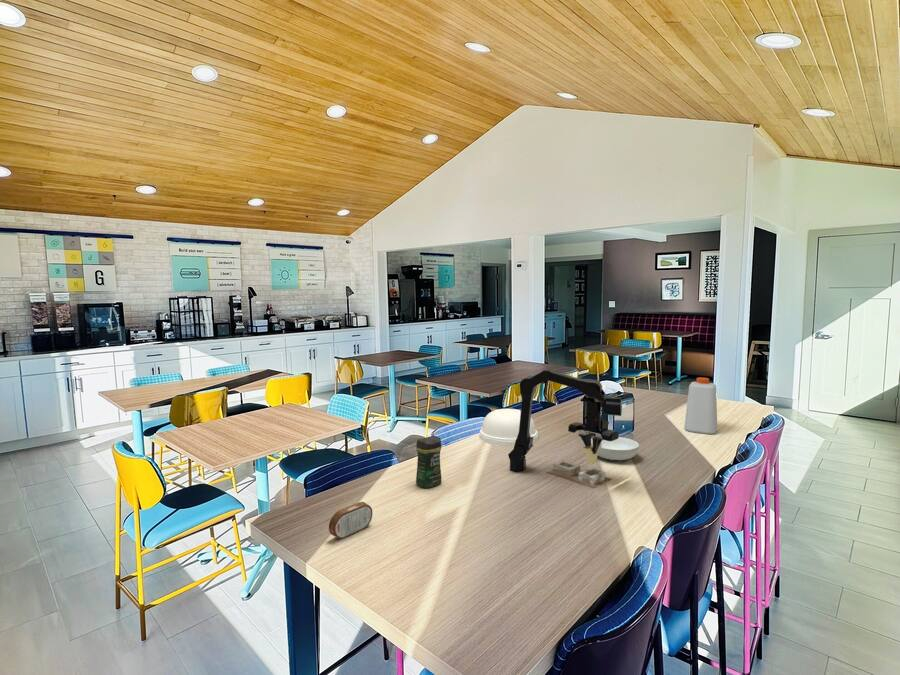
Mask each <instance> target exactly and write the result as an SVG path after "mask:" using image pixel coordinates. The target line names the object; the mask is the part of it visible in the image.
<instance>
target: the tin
mask: <svg viewBox="0 0 900 675" xmlns="http://www.w3.org/2000/svg"><path fill="white" fill-rule="evenodd" d="M372 519H373V508H372V507H371V506H370V505H369V504H368V503H366V502H364V501H360V502H357V503H353V504H351V505H349V506H346V507H343V508H341V509H338V510H337V511H336V512H335V513H334V514H333V515H332V516H331V518H330V520H329V523H328V531H329V533H330V535H332V537H335V538H337V539H345V538H347V537H349V536H352V535H354V534H356V533H359V532H361V531H363V530H365V529H366V528H367V527H369V525H370V523H371V521H372Z"/></svg>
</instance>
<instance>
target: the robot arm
mask: <svg viewBox="0 0 900 675" xmlns="http://www.w3.org/2000/svg"><path fill="white" fill-rule="evenodd" d="M545 381H549V382H553V383H555V384H559V385H562V386H565V387H568V388H572V389H575V390H577V391H579V392H580V393H582V394H584V395H583V397H582V398H581V399H580V402H582V403H585V415H583V420H585V421H584V422H585V423H582V422H578V421H575V422H571V423H570V424H568V426H567V431H568V432H569V433H573V434H574V433H576V432H577V431H579V434H578V436H579V437H580V438H581V440H582V442H583V444H584V447H586V446H589V445H591V439H593V452H594V454H596V453H597V450H598V448H599V445H600V443H601V441H602V440H606V441H614V440H616V439H618V438H619V437H620V436H619V432H618V431H617V430H613V429H609V424H610V421H608V420H605V419H604V416H603V415H602V413H604V414H605V415H606V416H616V417H617V416H618V417H621V416H622V413H623V404H622V397H610V396H609V397H608V395H607V393H606V392H605V391H604V390H603V385H602V383H601V381H599V380H598V379H592V378H590V379H588V378H579V377H576V376H573V375H568V374H565V373H562V372H559V371H555V370H552V369H551V368H545V369H543V370H542V371H541V372H539V373H537V374H535V375H534V376H532V375H528V376H526V377H525V378H523V379H521V380H520V382H519V394H520V396H521V405H520V410H521V415H520V425H519V433H518V436H517V439H516V441H515V445H514V446H513V449H512V450H511V451H510V452H509V453H508V454H507V456H508V459H509V471H510V472H514V473H522V472H525V470H526V468H527V462H526V460H527V459H526V457H527V456H526V455H527V454H528V453H529V452H530V451H531V449H532V448H533V446H534V443H533V438H534V437H530V433H529V430H530V420H531V417H532V408H533V399H534V397H535V394H536V392H537V388H538V385H540V384H542V383H544V382H545ZM604 429H605V430H604ZM593 435H595V436H594V437H593Z"/></svg>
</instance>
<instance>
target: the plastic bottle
mask: <svg viewBox="0 0 900 675" xmlns="http://www.w3.org/2000/svg"><path fill="white" fill-rule="evenodd" d="M686 402H687V403H686V410H685V418H684V419H685V420H684V425H683V426H684V430H685V431H687V432H689V431H690V433H695V432H696V433H697V434H703V435H714V434H716V433H717V432H718V406H717V405H718V404H717V385H716V383H713V382H710V378H708V377H701V376H700V377H696V381H691V382H690V384H689V385H688V392H687V401H686Z"/></svg>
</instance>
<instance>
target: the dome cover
mask: <svg viewBox="0 0 900 675" xmlns="http://www.w3.org/2000/svg"><path fill="white" fill-rule="evenodd" d="M520 415H521V409H515V408H500V409H495V410H492V411H491V412H488V414H487V415H486V416H485V417H484V420H483V422H482V426H481V428H480V430H479V432H478V433H479V435H478V438H479V440H481V441H482V442H483V443H486V444H489V445H493V446H499V447H514V445H515V441H516V439H517V436H518V433H519V425H520ZM529 433H530V437H534V438H533V444H535V443H537V442H538V441H539V433H538V430H537V429H536V426H535V421H534V420H533V418H532V416H531V420H530V430H529Z"/></svg>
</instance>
